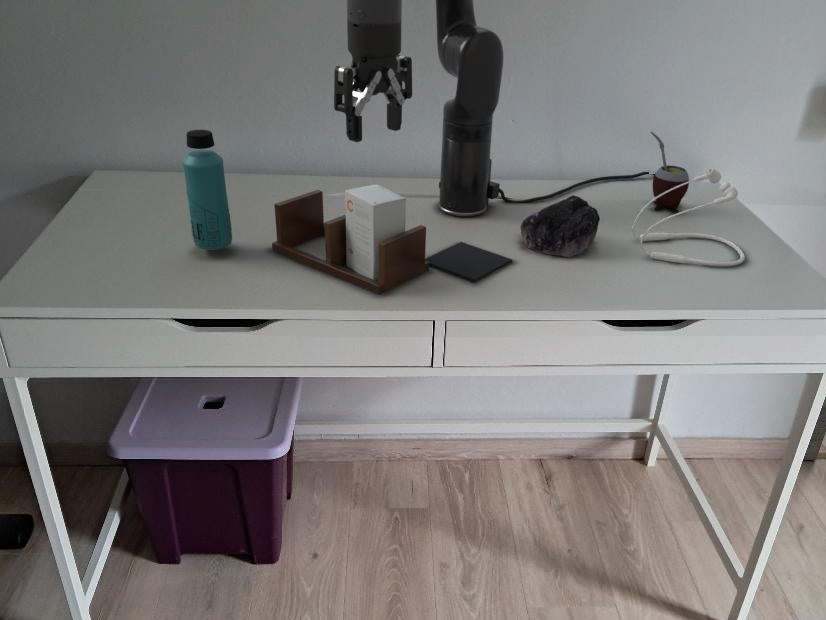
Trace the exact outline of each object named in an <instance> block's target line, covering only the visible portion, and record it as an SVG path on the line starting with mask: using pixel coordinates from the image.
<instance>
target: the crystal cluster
mask: <svg viewBox="0 0 826 620" xmlns="http://www.w3.org/2000/svg"><path fill="white" fill-rule="evenodd" d="M598 212H599V211H598V209H596V208H595V207H592V205H590V204H589V202H588V201H587V200H584V199H583V198H582V197H580V196H578V195H574V194H573V195H570V196H568V197H567V198H565V199H562V200H559V201H557V202H554V203H552V204H550V205H548V206H546V207H544V208H541V209H540V210H539V211H537V212H534V213H533V214H530V215H529V216H527V217H526V218H524V219H523V220H522V223H521V224H520V234H521V238H522V240H523V243H524V246H525V247H526V248H527V249H529V250H530V249H531V250H534V251H535V252H538V253H543V254H546V255H547V254H549V255H551V256H553V255H554V256H562V257H567V258H571V257H574V256H577V255H581V254H582V253H583V252H584V250H586V249H587V248H589V247H590V246H591V245H593V243H594V241H595V239H596V236H597V234H598V230H599V223H600V220H601V218H600V215H599V213H598Z"/></svg>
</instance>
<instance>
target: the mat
mask: <svg viewBox="0 0 826 620" xmlns="http://www.w3.org/2000/svg"><path fill="white" fill-rule="evenodd" d="M425 261H427V262H429V267H430V268H434V269H436V270H439V271H441V272H444V273H447V274H449V275H452V276H454V277H458V278H460V279H463V280H466V281H468V282H471V283H473V284H475V283H477V282H479V281H480V280H482V279H485V278H486V277H488V276H490V275H492V274H494V273H495V272H497V271H499V270H501V269H503V268H505V267H506V266H508V265H510V264H512V263H513V259H512V258H509V257H506V256H504V255H500V254H498V253H496V252H495V253H494V252H492V251H490V250H489V251H488V250H486V249H483V248H480V247H478V246H474V245H472V244H469V243H466V242H463V241H459V242H457V243H455V244H453V245H451V246H449V247H447V248H445V249H443V250H441V251H439V252H437V253H434V254H432V255H430V256H428V257H425Z"/></svg>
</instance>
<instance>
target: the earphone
mask: <svg viewBox="0 0 826 620" xmlns="http://www.w3.org/2000/svg"><path fill="white" fill-rule="evenodd" d="M721 179H722V174H721V173H720V171H718V170H717V169H716V168H715V167H708V168H707V169H706V171H705V174H701V175H698V176H695V177H693V179H691V180H689V181H688V182H686V183H683V184H681V185H678V186H676V187H674V188H672V189H670V190H668V191H666V192H664V193H662V194H660V195H659V196H657V197H654V198H652V199H651V200H650V201H649V202H647V203H646V204H645V205H644V206H643V207H642V208H641V210H640V211H639V213H638V214H637V216H636V218H635V219H634V221H633V224H632V226H631V233H632V235H633V236H634V238H637V239H638V240H639V241H640V242H639V243H640V244H639V245H640V248H641V250H642V251H643V252H644V253H645V254H647V255H648V256H650V258H651V259H652V260H657V261H664V262H671V263H677V264H678V263H679V264H689V263H690V264H696V265H702V266H703V265H704V266H713V267H734V266H738V265H740V264H742V263H743V262H744V261H745V258H746V256H745V253H744V252H743V250H742V249H741V248H740V247H739V246H738V245H737V244H735V243H734V242H732V241H731V240H729V239H726V238H723V237H722V236H721V237H720V236H717V235H712V234H706V233H698V232H697V233H695V232H690V233H689V232H682V233H681V232H680V233H671V232H650V231H651V230H652V229H653V228H654V227H656V226H657V225H659V224H660V223H661V224H662V222H665V221H667V220H669V219H672V218H675V217H677V216H679V215H682V214H684V213H688V212H691V211H694V210H697V209H700V208H705V207H707V206H710V205H721V204H723V203H728V202H732V201H733V200H735V199H736V198H737V197H738V195H739V191H738V189H737V188H736V187H735V186H733V185H731V183H730V182H729V181H724V182H723V183H721V184H720V185H719V190H720V191H721V192H722V195H723V196H722V197H718V198H715V199H714V200H713V201H712V202H708V203H705V204H702V205H698V206H695V207H692V208H688V209H685V210H683V211H680V212H678V213H674V214H672V215H670V216H667V217H665V218H663V219H661V220H659V221H657V222H655V223H654V224H652V225H651V226H649V228H648V229H647V230H646V231H644V233H641V234H640V235H639V236H638V235H637V234H636V233H635V225H636V223H637V221H638V219H639V217H640V216H641V214H642V213H643V212H644V211H645V209H646V208H648V206H650V205H651V204H652V203H654V201H655V200H656V199H657V198H659V197H660V196H662V195H664V194H665V193H667V192H669V191H671V190H674V189H676V188H678V187H680V186H683V185H685V184H688V183H689V184H690V183H693V182H694V183H697V182H701V181H704V180H708V182H710V183H711V184H718V183H719V182H720V181H721ZM672 238H675V239H676V238H701V239H707V240H713V241H717V242H720V243H723V244H726V245H728V246H729V247H731V248H733V250H735V251H736V252H737V254H738V255H739V257H740V258H739V259H737V260H734V261H712V260H711V261H710V260H703V259H698V258H697V259H695V258H691V257H688V256H685V255H681V254H675V253H674V254H673V253H667V252H661V251H655V250H654V251H652V252H651V253H650V252H649V251H647V250H646V249H645V248H644V246H643V242H654V241H667V240H669V239H672Z"/></svg>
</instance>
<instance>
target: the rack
mask: <svg viewBox="0 0 826 620" xmlns="http://www.w3.org/2000/svg"><path fill="white" fill-rule="evenodd" d="M323 193H324V192H323V190H321V189H320V190H319V189H315V190H312V191H310V192H306V193H303V194H300V195H298V196H295V197H291V198H288V199H285V200H282V201H279V202H276V203H274V217H275V231H276V240H275V241H273V242H271V251H272V252H275V253H277V254H279V255H281V256H284V257H287V258H289V259H292V260H294V261H296V262H299V263H301V264H304V265H306V266H309V267H310V268H314V269H316V270H318V271H321V272H322V273H325V274H327V275H330V276H332V277H335V278H337V279H340V280H342V281H345V282H347V283H350V284H351V285H355V286H357V287H359V288H362V289H364V290H366V291H369V292H371V293H373V294H376V295H378V296H380V295H382V294H384V293H386V292H388V291H390V290H392V289H395V288H396V287H398V286H400V285H402V284H404V283H406V282H408V281H410V280H412V279H415V278H417V277H418V276H421V275H422V274H425V273H426V272H428V271H430V266H429V262H427V261H425V259H426V245H427V226H425V225H422V224H420V225H417V226H415V227H413V228H411V229H408V230H405V232H403V233H401V234H398V235H396V236H393V237H391V238H389V239H386V240H384V241H382V242H379V282H378V281H376V280H373V279H371V278H368V277H366V276H363V275H361V274H359V273H357V272H356V271H354V270H352V269H351V270H350V269H349V268H346V267H343V266H345V265H347V258H346V214H343V215H341V216H338V217H335V218H332V219H330V220H327V221H324V220H325V218H324V195H323ZM321 236H324V249H325V250H324V251H325V259H323V258H321V257H318V256H315V255H314V254H311V253H309V252H306V251H303V250H301V249H298V248H296V247H295V246H298V245H301V244H303V243H306V242H308V241H311V240H314V239H316V238H319V237H321Z"/></svg>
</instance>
